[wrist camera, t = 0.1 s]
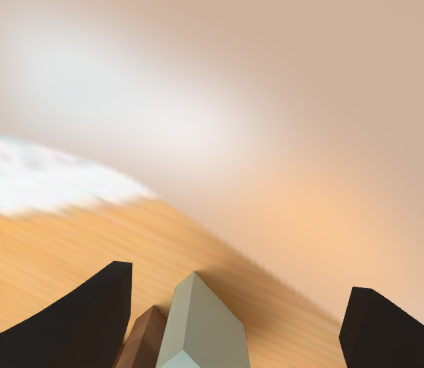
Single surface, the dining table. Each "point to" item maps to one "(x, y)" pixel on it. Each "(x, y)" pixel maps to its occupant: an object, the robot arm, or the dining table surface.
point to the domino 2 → (201, 330)
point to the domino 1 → (144, 341)
